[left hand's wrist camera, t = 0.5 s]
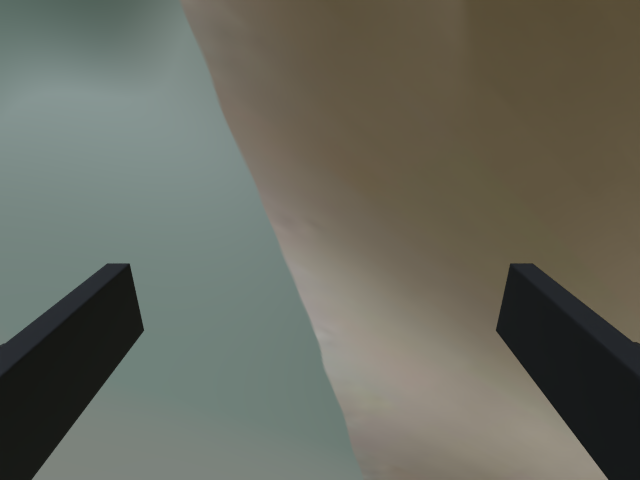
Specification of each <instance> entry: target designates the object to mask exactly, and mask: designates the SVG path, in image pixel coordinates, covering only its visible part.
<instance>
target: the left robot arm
mask: <svg viewBox="0 0 640 480" xmlns="http://www.w3.org/2000/svg"><path fill="white" fill-rule="evenodd" d="M143 331H144V328H143V323H142V319H141V314H140V309H139V305H138V300H137V296H136V291H135V286H134V282H133V277H132V272H131V268H130V264H106V265H105V266H104V267H102V268H101V269H100V270H99V271H97V272H96V273H95V274H93V275H92V276H91V277H90V278H88V279H87V280H86V281H85V282H83V283H82V284H81V285H79V286H78V287H77V288H76V289H74V290H73V291H72V292H70V293H69V294H68V295H67V296H65V297H64V298H63V299H61V300H60V301H59V302H58V303H56V304H55V305H54V306H53V307H51V308H50V309H49V310H47V311H46V312H45V313H44V314H42V315H41V316H40V317H38V318H37V319H36V320H35V321H33V322H32V323H31V324H30V325H28V326H27V327H26V328H24V329H23V330H22V331H21V332H19V333H18V334H17V335H16V336H14V337H13V338H12V339H10V340H9V341H8V342H7V343H5V344H2V345H0V480H32V478H33V477H34V476H35V474H36V473H37V472H38V470H39V469H40V468H41V466H42V465H43V464H44V462H45V461H46V460H47V458H48V457H49V456H50V455H51V453H52V452H53V451H54V449H55V448H56V447H57V445H58V444H59V443H60V441H61V440H62V439H63V437H64V436H65V435H66V433H67V432H68V431H69V429H70V428H71V427H72V425H73V424H74V423H75V421H76V420H77V419H78V417H79V416H80V415H81V413H82V412H83V411H84V409H85V408H86V407H87V405H88V404H89V403H90V401H91V400H92V399H93V397H94V396H95V395H96V394H97V392H98V391H99V390H100V388H101V387H102V386H103V384H104V383H105V382H106V380H107V379H108V378H109V376H110V375H111V374H112V372H113V371H114V370H115V368H116V367H117V366H118V364H119V363H120V362H121V360H122V359H123V358H124V356H125V355H126V354H127V352H128V351H129V350H130V348H131V347H132V346H133V344H134V343H135V342H136V340H137V339H138V338H139V336H140V335H141V334H142V333H143ZM496 331H497V333H498V334H499V335H500V337H501V338H502V339H503V340H504V342H505V343H506V344H507V346H508V347H509V348H510V350H511V351H512V352H513V354H514V355H515V356H516V358H517V359H518V360H519V362H520V363H521V364H522V366H523V367H524V368H525V370H526V371H527V372H528V374H529V375H530V376H531V378H532V379H533V380H534V382H535V383H536V384H537V386H538V387H539V388H540V390H541V391H542V392H543V394H544V395H545V396H546V398H547V399H548V400H549V401H550V403H551V404H552V405H553V407H554V408H555V409H556V411H557V412H558V413H559V415H560V416H561V417H562V419H563V420H564V421H565V423H566V424H567V425H568V427H569V428H570V429H571V431H572V432H573V433H574V435H575V436H576V437H577V439H578V440H579V441H580V443H581V444H582V445H583V447H584V448H585V449H586V451H587V452H588V453H589V455H590V456H591V457H592V458H593V460H594V461H595V462H596V464H597V465H598V466H599V468H600V469H601V470H602V472H603V473H604V474H605V476H606V477H607V478H608V480H640V344H639V343H637V342H632V341H631V340H630V339H628V338H627V337H626V336H625V335H623V334H622V333H621V332H619V331H618V330H617V329H616V328H614V327H613V326H612V325H610V324H609V323H608V322H607V321H605V320H604V319H603V318H602V317H600V316H599V315H598V314H596V313H595V312H594V311H593V310H591V309H590V308H589V307H587V306H586V305H585V304H584V303H582V302H581V301H580V300H579V299H577V298H576V297H575V296H573V295H572V294H571V293H570V292H568V291H567V290H566V289H564V288H563V287H562V286H561V285H559V284H558V283H557V282H556V281H554V280H553V279H552V278H550V277H549V276H548V275H547V274H545V273H544V272H543V271H541V270H540V269H539V268H538V267H536V266H535V265H534V264H510V268H509V272H508V277H507V282H506V286H505V291H504V296H503V300H502V305H501V309H500V314H499V319H498V323H497V328H496Z"/></svg>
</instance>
